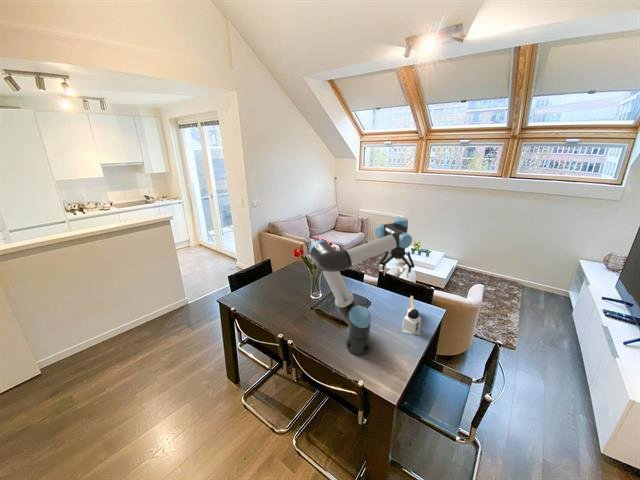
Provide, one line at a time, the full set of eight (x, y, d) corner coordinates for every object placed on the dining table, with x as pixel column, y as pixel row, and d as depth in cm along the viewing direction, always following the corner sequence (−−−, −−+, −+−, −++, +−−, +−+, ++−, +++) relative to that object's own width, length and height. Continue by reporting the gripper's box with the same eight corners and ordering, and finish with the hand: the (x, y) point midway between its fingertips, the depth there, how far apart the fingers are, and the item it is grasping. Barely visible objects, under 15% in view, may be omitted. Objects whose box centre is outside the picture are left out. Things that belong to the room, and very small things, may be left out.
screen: (407, 322, 171) (409, 307, 167) (407, 309, 184) (408, 295, 180) (414, 322, 170) (416, 308, 166) (413, 309, 183) (415, 296, 179)
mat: (402, 332, 162) (402, 332, 162) (402, 322, 171) (402, 321, 171) (420, 335, 160) (420, 334, 160) (418, 324, 169) (418, 324, 169)
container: (419, 327, 165) (422, 310, 161) (413, 334, 160) (416, 316, 155) (408, 322, 170) (410, 305, 166) (402, 328, 165) (404, 310, 161)
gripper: (377, 244, 156) (374, 276, 163) (422, 248, 150) (417, 281, 157) (377, 239, 162) (375, 270, 170) (420, 243, 156) (416, 274, 164)
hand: (395, 275), depth 164 cm, fingers open, 13 cm apart
